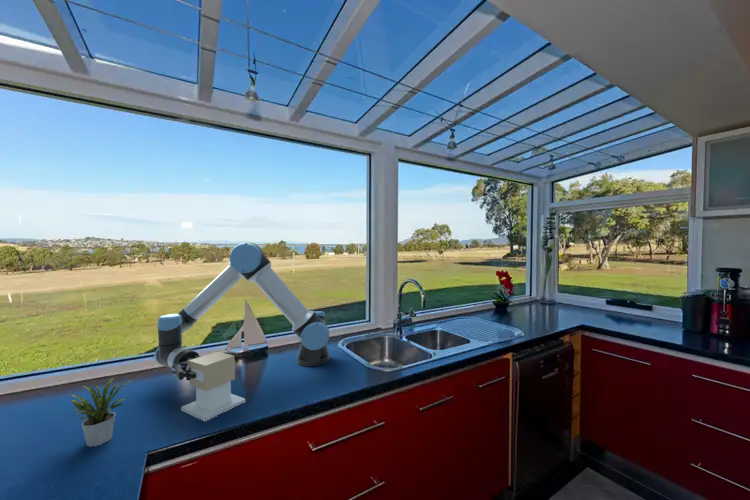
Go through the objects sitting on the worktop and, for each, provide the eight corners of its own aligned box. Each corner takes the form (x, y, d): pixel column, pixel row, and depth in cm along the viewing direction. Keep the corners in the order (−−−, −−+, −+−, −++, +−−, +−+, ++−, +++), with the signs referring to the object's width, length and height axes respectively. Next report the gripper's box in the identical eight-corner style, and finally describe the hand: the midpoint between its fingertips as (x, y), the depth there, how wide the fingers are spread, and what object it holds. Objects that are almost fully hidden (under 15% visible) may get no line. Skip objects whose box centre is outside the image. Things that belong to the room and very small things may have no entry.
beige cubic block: (218, 373, 111) (217, 351, 111) (235, 379, 106) (234, 355, 105) (189, 384, 102) (188, 360, 102) (206, 390, 97) (205, 365, 97)
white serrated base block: (221, 393, 114) (220, 365, 114) (245, 402, 106) (244, 372, 106) (181, 410, 102) (180, 379, 102) (205, 422, 94) (204, 388, 94)
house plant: (129, 418, 97) (128, 367, 97) (142, 434, 88) (141, 378, 88) (66, 441, 86) (64, 382, 86) (73, 462, 77) (72, 397, 77)
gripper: (214, 360, 123) (249, 370, 111) (149, 382, 104) (183, 396, 92) (213, 341, 123) (249, 349, 111) (148, 359, 104) (183, 371, 92)
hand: (219, 370), depth 102 cm, fingers closed on beige cubic block, 10 cm apart
